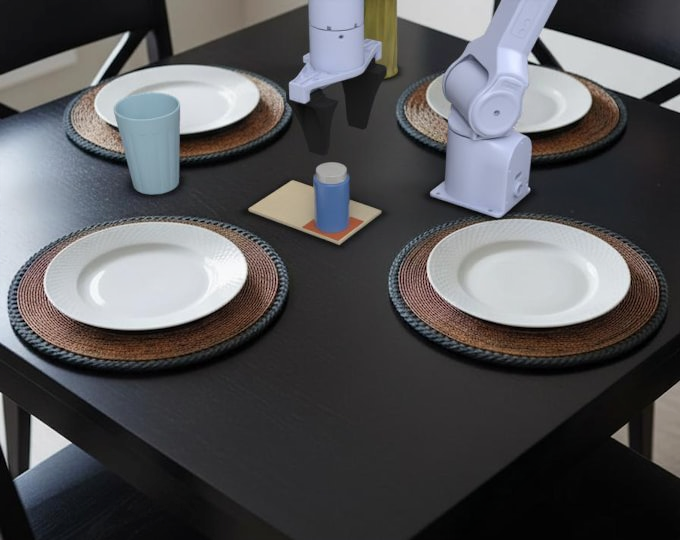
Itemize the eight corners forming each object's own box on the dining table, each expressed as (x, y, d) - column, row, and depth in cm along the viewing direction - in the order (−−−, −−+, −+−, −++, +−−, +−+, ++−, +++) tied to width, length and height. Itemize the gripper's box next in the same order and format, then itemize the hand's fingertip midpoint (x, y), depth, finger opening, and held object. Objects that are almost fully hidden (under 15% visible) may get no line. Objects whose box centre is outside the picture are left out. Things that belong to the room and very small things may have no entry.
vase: (357, 80, 153) (357, -16, 145) (356, 64, 158) (356, -30, 150) (399, 79, 153) (401, -17, 145) (396, 63, 158) (399, -30, 150)
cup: (110, 188, 127) (99, 109, 121) (153, 163, 132) (144, 86, 126) (157, 205, 123) (148, 125, 117) (200, 179, 128) (193, 101, 123)
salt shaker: (356, 221, 119) (356, 166, 115) (336, 236, 116) (335, 181, 112) (328, 211, 120) (327, 157, 117) (307, 226, 118) (305, 171, 114)
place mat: (381, 213, 121) (381, 209, 121) (339, 245, 115) (339, 241, 115) (292, 182, 127) (292, 179, 127) (248, 211, 122) (248, 207, 121)
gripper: (344, -5, 116) (345, 107, 123) (262, 35, 106) (269, 155, 113) (398, 6, 112) (396, 122, 120) (319, 49, 102) (322, 172, 110)
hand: (338, 139), depth 116 cm, fingers open, 7 cm apart
